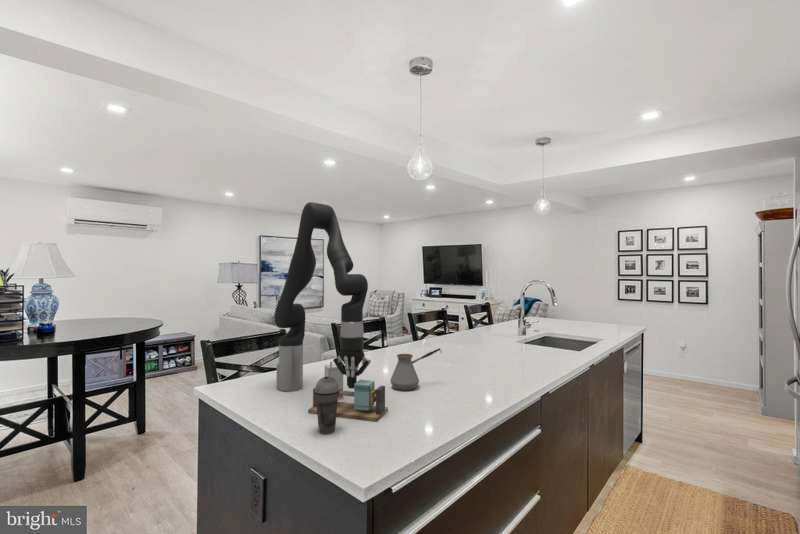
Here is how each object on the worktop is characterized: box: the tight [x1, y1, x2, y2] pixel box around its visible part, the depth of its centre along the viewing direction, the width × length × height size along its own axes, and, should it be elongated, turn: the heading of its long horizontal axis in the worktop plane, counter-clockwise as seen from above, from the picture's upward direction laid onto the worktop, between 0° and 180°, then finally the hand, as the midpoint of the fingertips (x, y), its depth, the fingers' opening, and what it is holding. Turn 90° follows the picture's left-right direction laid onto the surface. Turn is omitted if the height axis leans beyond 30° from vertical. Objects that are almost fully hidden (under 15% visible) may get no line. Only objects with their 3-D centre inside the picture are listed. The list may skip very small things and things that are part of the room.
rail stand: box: [307, 385, 389, 423], centre depth 128 cm, size 24×10×9 cm, turn 72°
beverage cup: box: [314, 361, 340, 435], centre depth 113 cm, size 7×7×20 cm
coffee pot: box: [390, 347, 443, 391], centre depth 156 cm, size 21×12×15 cm, turn 104°
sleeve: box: [353, 379, 375, 410], centre depth 126 cm, size 5×5×8 cm
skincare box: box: [324, 363, 344, 400], centre depth 142 cm, size 6×4×12 cm
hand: (351, 387), depth 128 cm, fingers closed
